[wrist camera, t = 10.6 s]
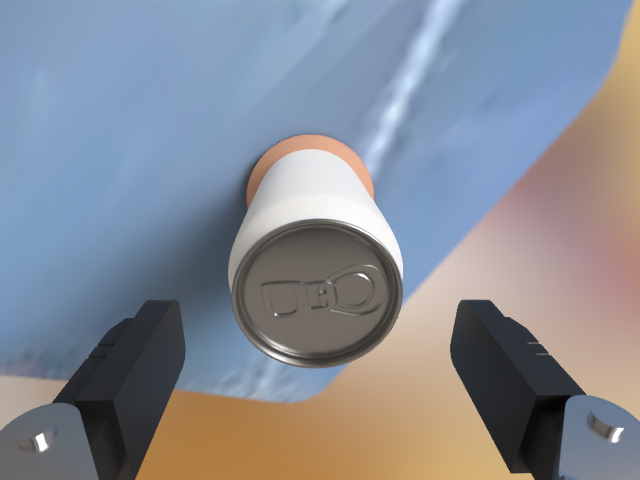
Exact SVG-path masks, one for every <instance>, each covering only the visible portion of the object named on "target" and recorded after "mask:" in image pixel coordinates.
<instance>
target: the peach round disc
mask: <svg viewBox="0 0 640 480" xmlns="http://www.w3.org/2000/svg"><path fill="white" fill-rule="evenodd" d="M305 149H317V150H323V151H326V152H329V153H332V154H334V155H336V156H338V157H339V158H341V159H342V160H344V161H345V162H346V163H347V164H348V165H349V166H350V167H351V168H352V169H353V171H354V172H355V173H356V175H357V176H358V178H359V179H360V181H361V182H362V184H363V185H364V187H365V188H366V190H367V192H368V193H369V195H370V196H371V198H372V199H373V201H374V190H373V184H372V180H371V177H370V174H369V172H368V170H367V168H366V166H365V165H364V163H363V162H362V160H361V159H360V158H359V157H358V155H357V154H356V153H355V152H354V151H353V150H352V149H351V148H349V147H348V146H347V145H345V144H344V143H342V142H340V141H338V140H336V139H334V138H331V137H328V136H324V135H319V134H302V135H296V136H292V137H289V138H286V139H284V140H282V141H280V142H278V143H277V144H275V145H274V146H272V147H271V148H270V149H269V150H268V151H267V152H265V153H264V155H263V156H262V157H261V158H260V160H259V161H258V163H257V164H256V166H255V167H254V169H253V171H252V174H251V176H250V179H249V182H248V187H247V208H248V209H249V207H250V205H251V203H252V201H253V198H254V196H255V194H256V192H257V190H258V188H259V186H260V184H261V182H262V180H263V178H264V176H265V174H266V173H267V171H268V170H269V169H270V168H271V166H272V165H273V164H274V163H275V162H277V161H278V160H279V159H281V158H282V157H284V156H285V155H287V154H290V153H292V152H295V151H299V150H305Z"/></svg>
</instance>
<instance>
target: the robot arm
mask: <svg viewBox="0 0 640 480" xmlns="http://www.w3.org/2000/svg"><path fill="white" fill-rule="evenodd" d="M450 353H451V359H452V362H453V365H454V367H455V369H456V371H457V373H458V375H459V376H460V379H461V380H462V382H463V384H464V386H465V388H466V390H467V392H468V394H469V395H470V397H471V399H472V401H473V403H474V405H475V407H476V409H477V411H478V413H479V414H480V416H481V418H482V420H483V422H484V424H485V426H486V428H487V430H488V431H489V433H490V435H491V437H492V439H493V441H494V443H495V445H496V446H497V448H498V450H499V452H500V454H501V456H502V458H503V460H504V461H505V463H506V465H507V467H508V469H509V471H510V473H531V474H532V476H533V477H534V479H535V480H640V421H639V420H638V419H636V418H635V417H634V416H633V415H632V414H630V413H629V412H628V411H626V410H625V409H623V408H621V407H620V406H618V405H616V404H614V403H612V402H610V401H607V400H605V399H602V398H598V397H595V396H589V395H586V393H585V392H584V391H583V390H582V389H581V388H580V387H579V386H578V385H577V383H576V382H575V381H574V380H573V379H572V378H571V377H570V376H569V375H568V373H566V371H565V370H564V369H563V368H562V367H561V366H560V365H559V364H558V363H557V361H556V360H555V359H554V358H553V357H552V356H550V355H549V354H548V352H547V350H546V349H545V348H544V347H543V346H542V345H541V344H539V343H538V340H537V339H536V338H535V337H534V336H533V335H532V334H531V333H530V332H529V330H527V328H525V327H524V326H522V325H521V324H519V323H518V322H516V321H514V320H513V319H511V318H510V317H504V316H503V314H502V313H501V312H500V311H499V310H498V308H497V307H495V305H494V304H493V303H492V302H491V301H490V300H461V301H460V303H459V305H458V309H457V313H456V318H455V324H454V329H453V334H452V339H451V344H450ZM184 360H185V340H184V333H183V327H182V320H181V313H180V307H179V303H178V302H177V300H147V301H146V302H145V303H144V305H143V306H142V307H141V309H140V310H139V312H138V313H137V314H136V316H135V317H134V318H126V319H124V320H123V321H121V322H120V323H119V324H117V325H116V326H114V327H113V328H111V329H110V330H109V331H108V332H107V333H106V335H105V336H104V337H103V338H102V340H101V341H100V342H99V343H98V347H95V349H94V350H93V351H92V352H91V354H90V355H89V358H88V359H86V360H85V361H84V363H83V364H82V365H81V366H80V368H79V369H78V370H77V371H76V373H75V374H74V375H73V376H72V378H71V379H70V380H69V382H68V383H67V384H66V385H65V387H64V388H63V389H62V390H61V392H60V393H59V394H58V396H57V397H56V398H55V399H54V401H53V402H52V403H51V404H48V405H44V406H40V407H37V408H35V409H32V410H30V411H28V412H26V413H24V414H22V415H21V416H19V417H17V418H16V419H14V420H13V421H11V422H10V423H9V424H7V425H6V426H5V427H4V428H3V429H2V430H1V431H0V480H135V478H136V476H137V474H138V471H139V469H140V467H141V464H142V462H143V460H144V457H145V455H146V452H147V450H148V448H149V445H150V443H151V441H152V438H153V436H154V434H155V431H156V429H157V426H158V424H159V422H160V420H161V417H162V415H163V412H164V410H165V408H166V405H167V403H168V401H169V398H170V396H171V394H172V391H173V389H174V387H175V384H176V382H177V380H178V377H179V375H180V372H181V370H182V368H183V364H184Z"/></svg>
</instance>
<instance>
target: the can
mask: <svg viewBox="0 0 640 480" xmlns="http://www.w3.org/2000/svg"><path fill="white" fill-rule="evenodd" d="M402 277H403V264H402V257H401V253H400V249H399V246H398V243H397V241H396V238H395V236H394V234H393V232H392V230H391V229H390V227H389V225H388V223H387V222H386V220H385V218H384V217H383V215H382V214H381V212H380V210H379V209H378V207H377V206H376V204H375V203H374V201H373V199H372V198H371V196H370V195H369V193H368V192H367V190H366V188H365V187H364V185H363V184H362V182H361V181H360V179H359V178H358V176H357V175H356V173H355V172H354V171H353V169H352V168H351V167H350V166H349V165H348V164H347V163H346V162H345V161H344V160H342V159H341V158H339V157H338V156H336V155H334V154H332V153H329V152H326V151H323V150H317V149H305V150H299V151H295V152H292V153H290V154H287V155H285V156H284V157H282V158H281V159H279V160H278V161H277V162H275V163H274V164H273V165H272V166H271V168H270V169H269V170H268V171H267V173H266V174H265V176H264V178H263V180H262V182H261V184H260V186H259V188H258V190H257V192H256V194H255V196H254V198H253V201H252V203H251V205H250V207H249V209H248V212H247V214H246V216H245V218H244V220H243V223H242V225H241V227H240V230H239V232H238V234H237V237H236V239H235V242H234V244H233V247H232V251H231V254H230V260H229V267H228V280H229V287H230V291H231V299H232V307H233V312H234V315H235V318H236V321H237V323H238V325H239V327H240V329H241V330H242V332H243V333H244V335H245V336H246V337H247V339H248V340H249V341H250V342H251V343H252V344H253V345H254V346H255V347H256V348H257V349H259V350H260V351H261V352H263V353H264V354H266V355H267V356H269V357H271V358H273V359H275V360H277V361H279V362H282V363H285V364H288V365H292V366H296V367H302V368H328V367H334V366H339V365H343V364H346V363H349V362H351V361H354V360H356V359H358V358H360V357H362V356H363V355H365V354H367V353H368V352H370V351H371V350H372V349H374V348H375V347H376V346H377V345H379V344H380V343H381V342H382V340H383V339H384V338H385V337H386V336H387V335H388V333H389V332H390V331H391V329H392V328H393V326H394V324H395V322H396V320H397V318H398V315H399V312H400V309H401V305H402V297H403V286H402Z"/></svg>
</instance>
